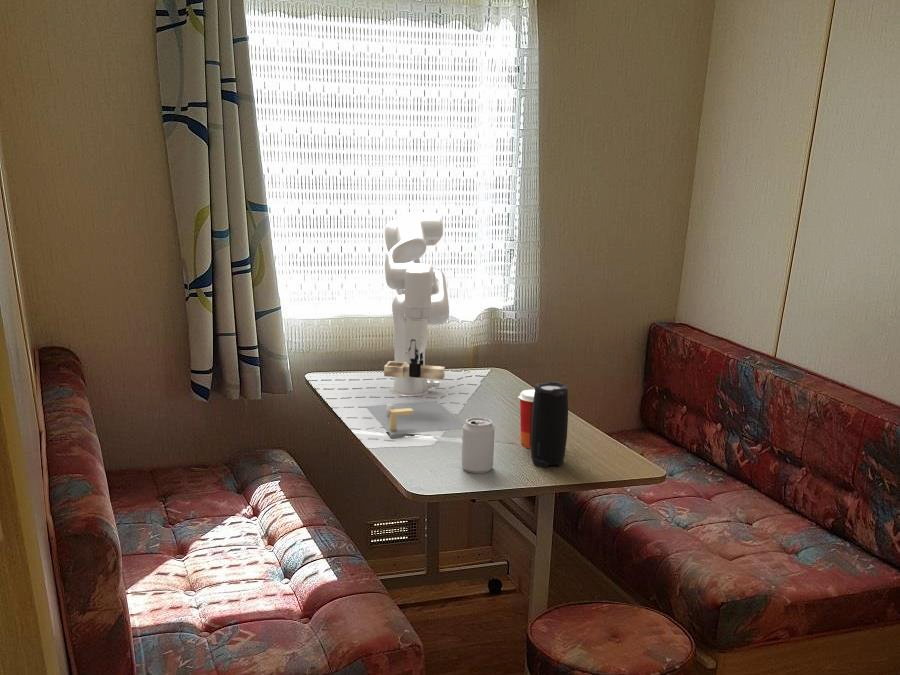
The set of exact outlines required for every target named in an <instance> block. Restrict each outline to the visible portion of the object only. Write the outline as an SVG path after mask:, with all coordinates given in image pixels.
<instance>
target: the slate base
mask: <svg viewBox="0 0 900 675" xmlns="http://www.w3.org/2000/svg"><path fill="white" fill-rule="evenodd" d="M365 408H366V409H367V410H368V412H369V413H370V414H371V415H373V417H374V418H375V419H376V420H377V421H378V422H379V423H380V425H382V427H383V428H384V429H385V430H386V431H385V433H386V435H387V436H388V437H389V439H397V437H400V438H406V437H405V436H411V437H416V436H415V435H420V434H419V433H426V432H439V431H447V430H459V429H463V426H464V425H465V424H466V423H464V422H463V421H462V420H461V419H459V418H458V417H457V416H456V415H454V414H453V413H452V412H451V411H450V410H448V409H447V408H445V406H443V405H442V404H441V403H440V402H438V400H428V401H427V400H426V401H417V402H415V401H413V402H404V403H402V402H401V403H387V404H377V405H375V404H374V405H365ZM417 433H418V434H417Z"/></svg>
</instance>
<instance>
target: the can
mask: <svg viewBox="0 0 900 675" xmlns="http://www.w3.org/2000/svg"><path fill="white" fill-rule="evenodd" d="M464 424H465V425H464V426H463V428H462V444H461V445H462V447H461V448H462V449H461V466H462V468H463V469H464V470H465V471H467V472H468V473H471V474H486V473H488V472H490V470H492V469H493V468H494V453H495V450H494V449H495V431H496V430H495V429H496V428H495V426H494V425H493V421H492V420H491V419H489V418H485V417H469V418H467V419H466V420H465V423H464Z"/></svg>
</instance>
